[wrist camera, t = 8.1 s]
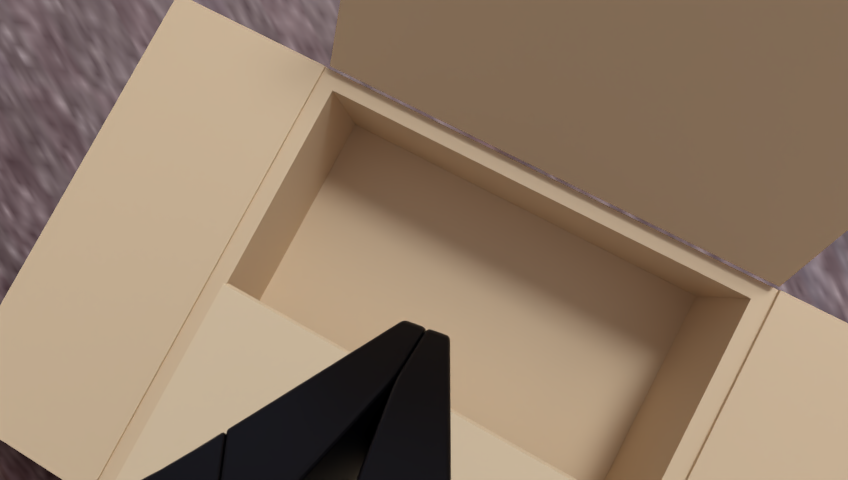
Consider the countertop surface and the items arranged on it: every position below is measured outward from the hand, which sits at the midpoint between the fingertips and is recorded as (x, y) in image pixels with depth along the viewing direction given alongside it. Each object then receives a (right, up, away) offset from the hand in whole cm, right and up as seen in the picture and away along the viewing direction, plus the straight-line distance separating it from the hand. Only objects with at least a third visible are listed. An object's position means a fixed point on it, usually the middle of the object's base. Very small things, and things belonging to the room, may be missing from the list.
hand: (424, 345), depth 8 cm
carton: (0, -3, +11) cm, 12 cm away
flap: (+5, +7, +4) cm, 10 cm away
